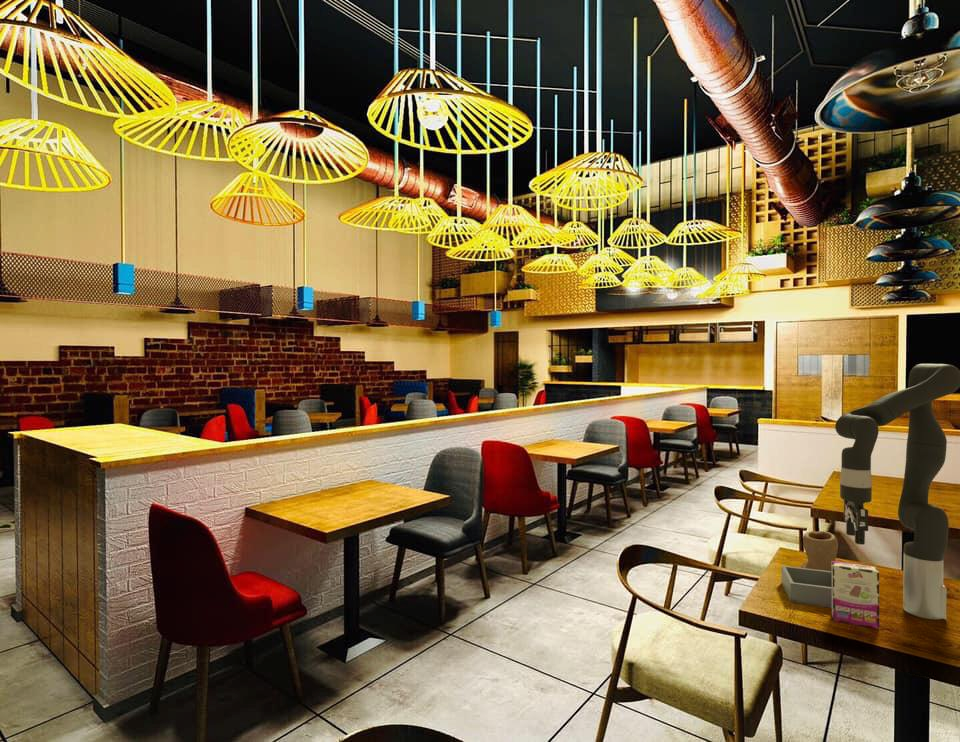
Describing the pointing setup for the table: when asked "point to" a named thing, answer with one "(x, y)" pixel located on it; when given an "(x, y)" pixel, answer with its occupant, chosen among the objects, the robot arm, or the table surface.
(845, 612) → the candy bar box
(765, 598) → the table surface
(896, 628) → the table surface
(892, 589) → the table surface
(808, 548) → the stone cup
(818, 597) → the tote
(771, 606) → the table surface
